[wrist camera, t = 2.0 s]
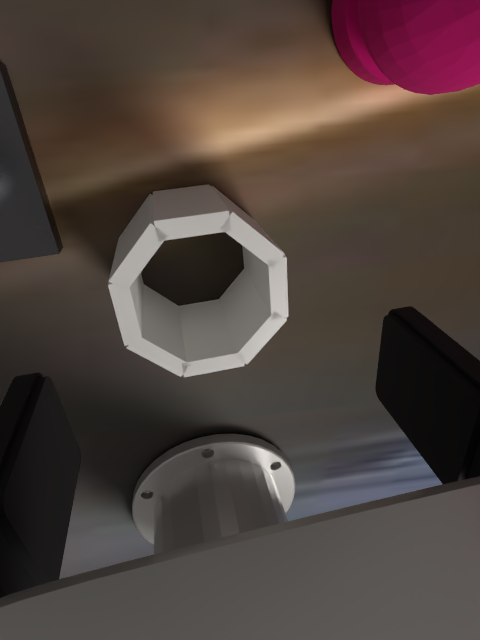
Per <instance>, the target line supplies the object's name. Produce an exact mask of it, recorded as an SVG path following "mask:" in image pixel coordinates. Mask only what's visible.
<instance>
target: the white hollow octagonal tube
mask: <svg viewBox="0 0 480 640" xmlns="http://www.w3.org/2000/svg"><path fill="white" fill-rule="evenodd" d="M221 232H226V233H227V234H228V235H230V236H231V237H232V238H233V239H235V240H236V241H237V242H239V243H240V244H241V245H242V250H243V261H244V269H243V270H242V272H241V273H240V274H239V275H238V276H237V278H236V279H235V280H234V281H233V282H232V284H231V285H230V286H229V287H228V289H227V290H226V291H225V292H224V293H223V295H222V296H221V297H220V298H219V299H217V300H211V301H205V302H199V303H193V304H187V305H181V306H178V305H176V304H175V303H173V302H172V301H170V300H168V299H167V298H165V297H164V296H162V295H160V294H159V293H157V292H156V291H154V290H152V289H151V288H149V287H147V286H146V285H144V284H143V279H142V275H141V271H142V270H143V269H144V267H145V266H146V264H147V263H148V262H149V260H150V259H151V258H152V256H153V255H154V254H155V252H156V251H157V250H158V248H159V247H160V246H161V244H162V243H163V242H164V241H165V240H172V239H179V238H186V237H193V236H200V235H207V234H214V233H221ZM108 287H109V291H110V294H111V298H112V302H113V305H114V309H115V313H116V317H117V320H118V324H119V328H120V331H121V335H122V339H123V342H124V346H126V345H127V349H129V350H131V351H133V352H135V353H137V354H138V355H140V356H142V357H144V358H146V359H148V360H150V361H152V362H153V363H155V364H157V365H159V366H161V367H163V368H165V369H167V370H169V371H170V372H172V373H174V374H176V375H178V376H180V377H181V376H182V375H184V377H189V376H194V375H200V374H205V373H210V372H215V371H221V370H226V369H231V368H237V367H242V366H244V363H246V364H248V363H249V362H250V361H251V360H252V359H253V357H254V356H255V355H256V354H257V353H258V352H259V351H260V350H261V349H262V347H263V346H264V345H265V344H266V343H267V342H268V341H269V340H270V339H271V337H272V336H273V335H274V334H275V333H276V332H277V331H278V330H279V328H280V327H281V326H282V325H283V324H284V323H285V322H286V321H287V319H286V317H288V289H287V257H286V256H285V253H284V252H283V251H282V250H281V249H280V248H279V247H278V246H277V245H276V244H275V242H274V241H273V240H272V239H271V238H270V237H269V236H268V235H267V234H266V233H265V231H264V230H263V229H262V228H261V227H260V226H259V225H258V224H257V223H256V222H255V220H254V219H253V218H251V217H250V216H249V215H248V214H246V213H245V212H244V211H243V210H242V209H240V208H239V207H238V206H237V205H235V204H234V203H233V202H232V201H231V200H229V199H228V198H227V197H226V196H224V195H223V194H222V193H221V192H220V191H218V190H217V189H216V188H215V187H214V186H210V185H209V184H208V185H200V186H192V187H184V188H177V189H169V190H161V191H153V195H152V194H151V193H150V194H149V195H148V197H147V198H146V200H145V201H144V203H143V204H142V205H141V207H140V208H139V210H138V211H137V213H136V214H135V215H134V217H133V218H132V220H131V221H130V223H129V224H128V225H127V227H126V228H125V230H124V231H123V232H122V234H121V235H120V237H119V239H118V243H117V247H116V251H115V256H114V260H113V264H112V269H111V273H110V277H109V282H108Z"/></svg>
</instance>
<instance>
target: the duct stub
mask: <svg viewBox="0 0 480 640" xmlns="http://www.w3.org/2000/svg"><path fill="white" fill-rule="evenodd" d="M62 248H63V246H62V243H61V240H60V236H59V233H58V230H57V227H56V224H55V220H54V217H53V214H52V211H51V208H50V205H49V201H48V198H47V195H46V192H45V189H44V186H43V182H42V179H41V176H40V173H39V170H38V167H37V163H36V160H35V157H34V154H33V151H32V147H31V144H30V141H29V138H28V135H27V132H26V128H25V125H24V122H23V119H22V116H21V113H20V109H19V106H18V103H17V100H16V97H15V94H14V90H13V87H12V84H11V81H10V78H9V75H8V71H7V68H6V66H5V65H2V64H0V262H5V261H12V260H19V259H26V258H33V257H40V256H47V255H54V254H59V253H60V252H61V250H62Z"/></svg>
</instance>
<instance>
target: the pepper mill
mask: <svg viewBox="0 0 480 640" xmlns="http://www.w3.org/2000/svg"><path fill="white" fill-rule="evenodd" d="M331 14H332V28H333V33H334V38H335V43H336V45H337V48H338V50H339V53H340V55H341V57H342V59H343V60H344V62H345V63H346V65H347V66H348V67H349V68H350V70H351V71H352V72H353V73H355V74H356V75H357V76H358V77H360V78H361V79H363V80H365V81H368V82H371V83H374V84H378V85H393V84H396V85H398V86H400V87H401V88H403V89H405V90H408V91H411V92H415V93H421V94H429V95H433V94H440V93H447V92H454V91H460V90H463V89H466V88H469V87H472V86H475V85H478V84H480V0H333V1H332V10H331Z"/></svg>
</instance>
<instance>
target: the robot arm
mask: <svg viewBox="0 0 480 640" xmlns="http://www.w3.org/2000/svg"><path fill="white" fill-rule="evenodd" d="M376 394H377V396H378V398H379V400H380V401H381V403H382V404H383V405H384V407H385V408H386V409H387V411H388V412H389V413H390V415H391V416H392V417H393V419H394V420H395V421H396V423H397V424H398V425H399V427H400V428H401V429H402V431H403V432H404V433H405V435H406V436H407V437H408V439H409V440H410V441H411V442H412V444H413V445H414V446H415V448H416V449H417V450H418V452H419V453H420V454H421V456H422V457H423V458H424V460H425V461H426V462H427V464H428V465H429V466H430V468H431V469H432V470H433V472H434V473H435V474H436V476H437V477H438V478H439V480H440V481H441V482H442V484H443V485H439V486H434V487H430V488H426V489H422V490H418V491H413V492H409V493H405V494H401V495H396V496H392V497H388V498H384V499H380V500H375V501H371V502H367V503H363V504H359V505H354V506H350V507H346V508H342V509H338V510H334V511H330V512H325V513H321V514H317V515H313V516H309V517H305V518H301V519H296V520H292V521H288V520H287V517H286V512H287V511H288V509H289V507H290V506H291V503H292V501H293V498H294V495H295V479H294V474H293V472H292V469H291V467H290V464H289V462H288V460H287V459H286V457H285V456H284V454H283V453H282V452H281V451H280V450H278V449H277V448H276V447H275V446H274V445H272V444H270V443H268V442H266V441H264V440H262V439H259V438H256V437H252V436H249V435H241V434H216V435H210V436H204V437H199V438H196V439H193V440H190V441H187V442H184V443H182V444H180V445H178V446H176V447H174V448H172V449H170V450H168V451H167V452H165V453H164V454H162V455H161V456H160V457H158V458H157V459H156V460H155V461H154V462H152V463H151V464H150V465H149V466H148V467H147V468H146V469H145V471H144V472H143V474H142V475H141V477H140V478H139V480H138V482H137V484H136V487H135V489H134V493H133V502H132V515H133V520H134V523H135V526H136V528H137V529H138V531H139V532H140V534H141V535H142V536H143V537H144V538H145V539H146V540H147V541H149V542H150V543H151V544H153V545H154V555H151V556H147V557H143V558H139V559H135V560H131V561H126V562H123V563H119V564H115V565H111V566H108V567H104V568H100V569H96V570H92V571H89V572H85V573H81V574H77V575H74V576H70V577H66V578H62V579H59V576H60V570H61V565H62V559H63V554H64V548H65V543H66V538H67V532H68V527H69V521H70V516H71V510H72V505H73V499H74V494H75V489H76V483H77V478H78V472H79V467H80V461H81V455H80V449H79V446H78V444H77V441H76V439H75V436H74V434H73V431H72V429H71V427H70V424H69V422H68V419H67V417H66V414H65V412H64V410H63V407H62V405H61V402H60V400H59V397H58V395H57V392H56V390H55V388H54V385H53V383H52V380H51V379H50V377H43V375H42V374H41V373H33V374H28V375H22V376H17V377H15V378H14V379H13V381H12V383H11V385H10V387H9V389H8V392H7V394H6V396H5V398H4V400H3V402H2V404H1V406H0V640H480V361H479V360H478V359H477V358H475V357H474V356H473V355H472V354H470V353H469V352H468V351H467V350H465V349H464V348H463V347H462V346H461V345H459V344H458V343H457V342H456V341H454V340H453V339H452V338H451V337H449V336H448V335H447V334H446V333H444V332H443V331H442V330H441V329H439V328H438V327H437V326H436V325H435V324H433V323H432V322H431V321H430V320H428V319H427V318H426V317H425V316H423V315H422V314H421V313H420V312H418V311H417V310H416V309H415V308H413V307H403V308H398V309H392V310H390V312H389V313H388V315H386V316H385V317H384V320H383V327H382V336H381V344H380V353H379V362H378V370H377V379H376Z"/></svg>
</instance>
